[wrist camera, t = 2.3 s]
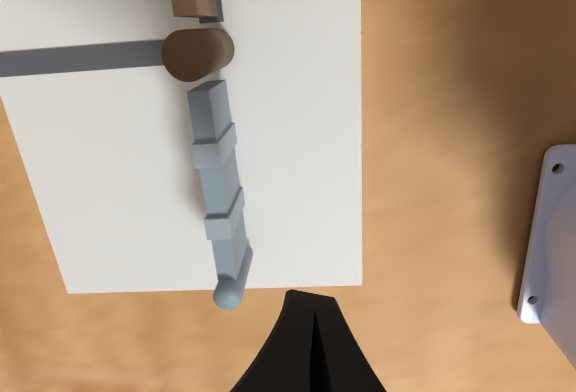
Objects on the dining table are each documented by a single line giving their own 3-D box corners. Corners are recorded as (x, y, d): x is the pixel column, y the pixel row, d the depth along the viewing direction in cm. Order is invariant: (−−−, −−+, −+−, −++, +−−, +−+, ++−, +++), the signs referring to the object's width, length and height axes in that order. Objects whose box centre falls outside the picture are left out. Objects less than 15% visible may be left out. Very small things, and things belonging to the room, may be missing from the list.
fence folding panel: (254, 262, 21) (243, 309, 17) (230, 263, 21) (215, 309, 17) (231, 78, 17) (211, 92, 14) (203, 80, 17) (177, 94, 14)
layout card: (361, 281, 21) (362, 285, 21) (71, 290, 23) (67, 294, 22) (358, -258, 13) (359, -265, 13) (-93, -197, 15) (-103, -203, 14)
